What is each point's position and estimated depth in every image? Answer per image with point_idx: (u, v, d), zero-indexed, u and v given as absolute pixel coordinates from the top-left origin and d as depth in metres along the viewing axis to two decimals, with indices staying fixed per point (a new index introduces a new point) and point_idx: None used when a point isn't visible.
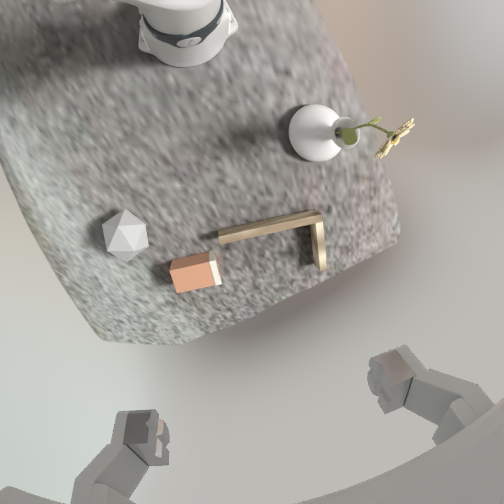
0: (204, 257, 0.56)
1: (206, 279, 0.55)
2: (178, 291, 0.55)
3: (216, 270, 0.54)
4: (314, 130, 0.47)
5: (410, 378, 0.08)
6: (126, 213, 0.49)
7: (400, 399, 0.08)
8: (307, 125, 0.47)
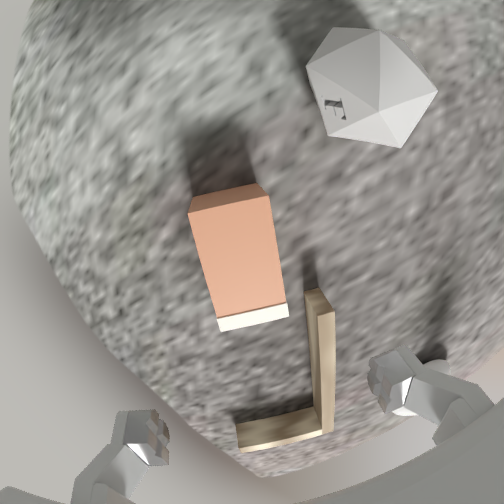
0: None
1: (233, 297, 0.20)
2: (194, 218, 0.17)
3: (260, 319, 0.21)
4: None
5: (410, 378, 0.08)
6: None
7: (400, 399, 0.08)
8: None
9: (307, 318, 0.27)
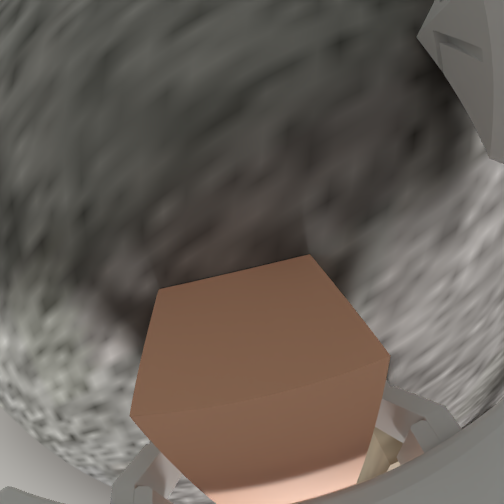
0: None
1: (262, 500, 0.07)
2: (152, 425, 0.05)
3: None
4: None
5: None
6: None
7: None
8: None
9: None
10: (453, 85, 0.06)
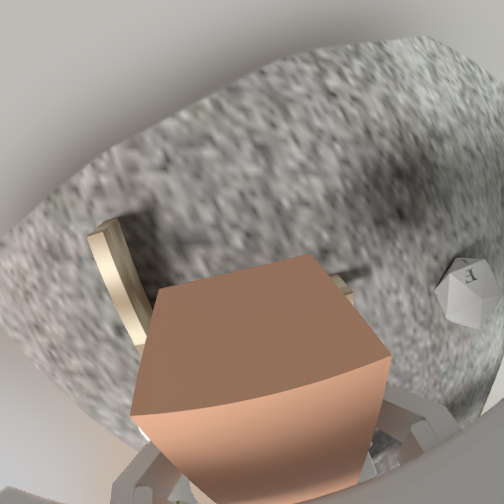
0: None
1: (262, 500, 0.07)
2: (153, 425, 0.05)
3: None
4: None
5: None
6: (455, 322, 0.29)
7: None
8: None
9: None
10: (453, 264, 0.29)
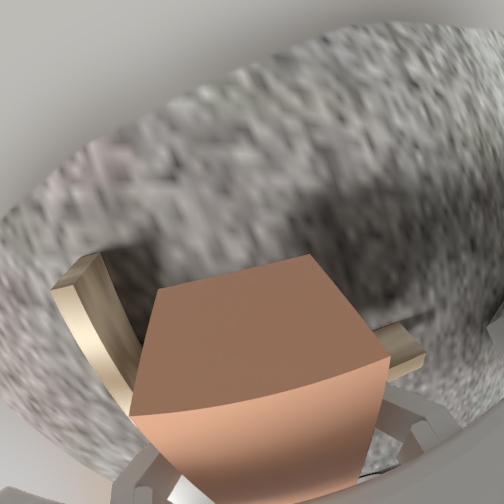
0: None
1: (262, 501, 0.07)
2: (151, 426, 0.05)
3: None
4: None
5: None
6: None
7: None
8: None
9: None
10: None
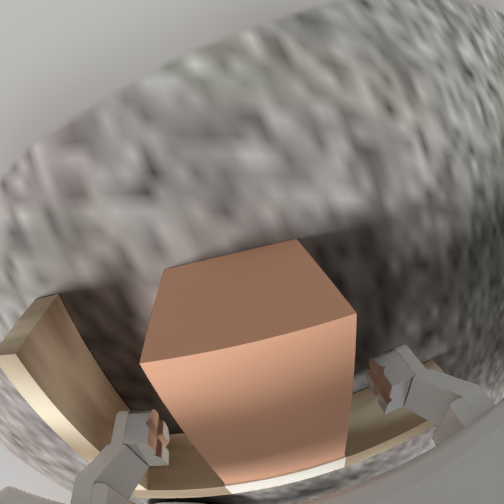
0: None
1: (254, 466, 0.08)
2: (158, 372, 0.06)
3: (298, 478, 0.09)
4: None
5: (410, 378, 0.08)
6: None
7: (400, 399, 0.08)
8: None
9: None
10: None
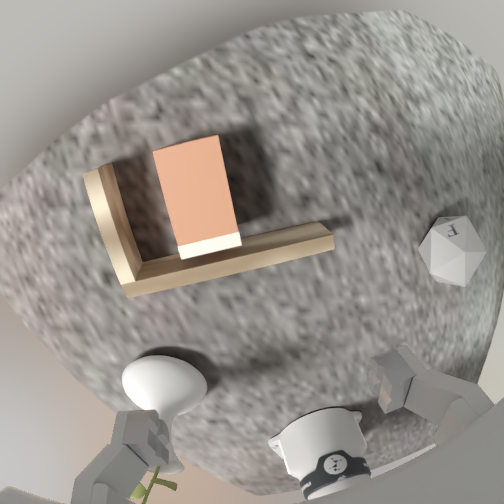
0: None
1: (191, 225, 0.22)
2: (157, 155, 0.20)
3: (216, 247, 0.23)
4: (179, 410, 0.30)
5: (410, 378, 0.08)
6: (440, 281, 0.31)
7: (400, 399, 0.08)
8: (188, 408, 0.32)
9: (293, 228, 0.29)
10: (435, 222, 0.30)
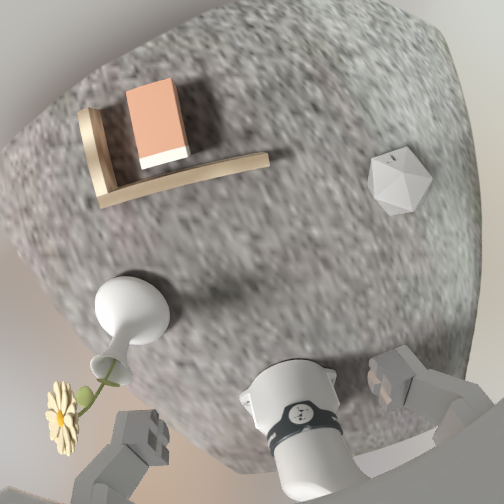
0: (185, 138, 0.30)
1: (150, 142, 0.27)
2: (129, 93, 0.25)
3: (168, 159, 0.28)
4: (140, 329, 0.35)
5: (410, 378, 0.08)
6: (391, 212, 0.35)
7: (400, 399, 0.08)
8: (149, 330, 0.36)
9: (239, 156, 0.34)
10: None
